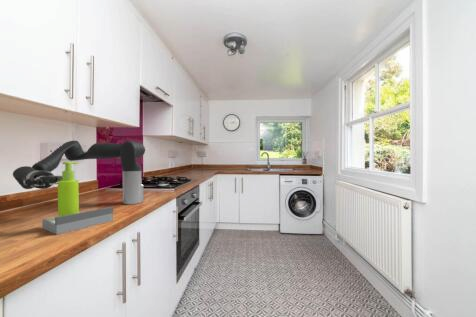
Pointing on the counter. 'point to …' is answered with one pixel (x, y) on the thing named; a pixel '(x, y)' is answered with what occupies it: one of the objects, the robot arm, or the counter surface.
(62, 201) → the soap dispenser
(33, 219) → the counter surface
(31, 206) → the counter surface
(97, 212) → the dock
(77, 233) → the counter surface
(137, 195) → the robot arm
